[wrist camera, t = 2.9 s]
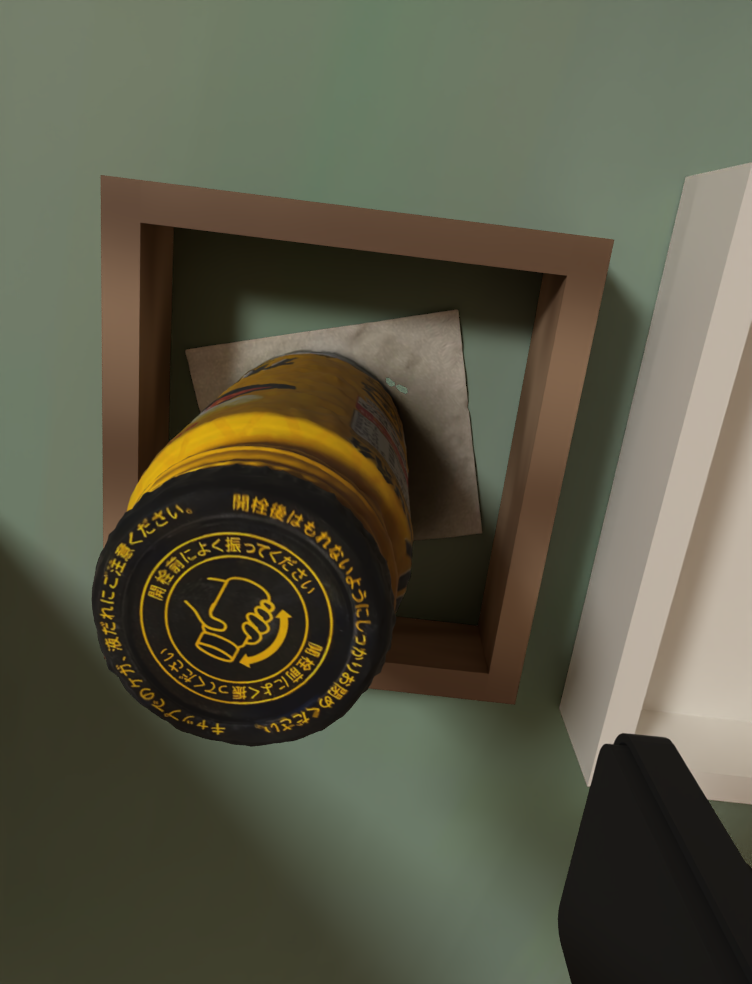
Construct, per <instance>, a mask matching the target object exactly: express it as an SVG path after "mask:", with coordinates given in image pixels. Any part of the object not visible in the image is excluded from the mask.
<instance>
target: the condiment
mask: <svg viewBox="0 0 752 984" xmlns="http://www.w3.org/2000/svg"><path fill="white" fill-rule="evenodd" d="M185 352H186V356H187V360H188V363H189V369H190V373H191V377H192V381H193V386H194V390H195V393H196V398H197V403H198V406H199V409H200V414H199V416H197V417H196V418H195V419H194V420H193V421H192V422H191V423H190V424H188V425H187V426H186V427H185V428H184V429H183V430H182V431H181V432H180V433H179V434H178V435H176V436H175V437H174V438H173V439H172V440H170V442H169V443H168V444H167V445H166V446H165V447H164V448H163V449H162V450H161V451H160V452H159V453H158V454H157V455H156V457H155V458H154V459H153V461H152V462H151V464H150V465H149V467H148V468H147V469H146V470H145V471H144V473H143V474H142V476H141V478H140V480H139V482H138V484H137V485H136V487H135V489H134V491H133V492H132V495H131V497H130V500H129V504H128V508H127V512H125V513H124V515H123V516H122V518H121V519H120V520H119V522H118V523H117V525H116V528H115V529H114V530H113V531H112V532H111V533H110V534H109V535H108V540H107V543H106V545H105V547H104V549H103V550H102V552H101V554H100V557H99V559H98V562H97V565H96V571H95V576H94V582H93V587H92V610H93V616H94V622H95V625H96V628H97V634H98V640H99V644H100V648H101V651H102V653H103V654H104V656H105V658H106V662H107V666H108V669H109V670H110V671H111V672H113V673H115V674H116V675H117V676H118V677H119V679H120V681H121V683H122V684H123V686H124V687H125V689H126V690H127V691H128V692H129V693H130V694H131V695H132V697H133V698H134V699H135V700H136V701H138V702H139V703H140V704H141V705H143V706H144V707H146V708H147V709H149V710H150V711H151V712H153V713H154V714H156V715H157V716H159V717H160V718H161V719H164V720H166V721H168V722H169V723H170V724H172V725H173V726H174V727H175V728H176V729H178V730H180V731H183V732H186V733H190V734H193V735H196V736H199V737H202V738H205V739H209V740H216V741H222V742H226V743H230V744H234V745H246V746H260V745H267V744H272V743H282V742H289V741H295V740H298V739H301V738H304V737H306V736H308V735H310V734H313V733H315V732H318V731H322V730H323V729H325V728H326V727H328V726H329V725H331V724H332V723H333V722H335V721H336V720H338V719H339V718H341V717H343V716H344V715H345V714H346V713H347V712H348V711H349V710H350V708H351V707H352V706H353V705H354V704H355V702H356V701H357V700H358V698H359V697H360V696H361V694H362V693H364V692H365V691H366V690H368V688H369V686H370V685H371V683H372V681H373V678H374V676H376V675H378V674H379V673H381V671H382V667H383V665H384V664H385V661H386V654H387V652H388V651H389V650H390V649H391V641H392V631H393V628H394V626H395V623H396V616H395V613H396V612H397V610H398V607H399V604H400V602H401V601H402V599H403V596H404V594H405V593H406V588H407V584H408V581H409V579H410V577H411V565H412V545H413V541H415V540H425V539H433V538H447V537H458V536H463V535H471V534H479V533H482V525H481V516H480V510H479V500H478V490H477V481H476V472H475V464H474V454H473V446H472V436H471V427H470V417H469V410H468V407H467V406H468V399H467V389H466V379H465V370H464V361H463V352H462V341H461V332H460V323H459V313H458V310H450V311H444V312H437V313H431V314H424V315H417V316H410V317H403V318H397V319H391V320H384V321H378V322H370V323H363V324H357V325H349V326H342V327H335V328H328V329H321V330H314V331H307V332H300V333H293V334H287V335H280V336H273V337H266V338H260V339H253V340H246V341H239V342H233V343H226V344H219V345H212V346H206V347H199V348H193V349H188V350H185ZM386 378H390V379H391V380H392V381H394V382H395V386H392V387H391V386H389V385H388V384H387V383H386ZM398 384H400V385H402V386H404V387H406V388H407V390H408V393H407V394H404V393H402V392H400V391H399V390H398V389H397V388H396V385H398Z"/></svg>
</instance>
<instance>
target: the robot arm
mask: <svg viewBox="0 0 752 984" xmlns="http://www.w3.org/2000/svg"><path fill="white" fill-rule="evenodd" d="M558 929H559V937H560V942H561V946H562V949H563V953H564V957H565V961H566V964H567V968H568V972H569V976H570V979H571V983H572V984H752V868H751V867H750V866H749V865H748V864H746V862H745V861H744V859H743V858H742V856H741V854H740V853H739V851H738V849H737V848H736V846H735V844H734V843H733V841H732V839H731V838H730V836H729V834H728V833H727V831H726V829H725V828H724V826H723V824H722V823H721V821H720V820H719V818H718V816H717V815H716V813H715V811H714V810H713V808H712V806H711V805H710V803H709V801H708V800H707V798H706V796H705V795H704V793H703V791H702V790H701V788H700V786H699V785H698V783H697V782H696V780H695V778H694V777H693V775H692V773H691V772H690V770H689V768H688V767H687V765H686V763H685V762H684V760H683V758H682V757H681V755H680V753H679V752H678V750H677V748H676V747H675V745H674V744H673V743H672V741H671V740H670V739H668V738H666V737H658V736H648V735H638V734H628V733H622V734H619V735H618V736H617V738H616V739H615V741H614V744H604V745H603V746H602V747H601V749H600V752H599V755H598V759H597V762H596V766H595V770H594V774H593V778H592V782H591V786H590V789H589V793H588V797H587V801H586V805H585V809H584V813H583V816H582V820H581V824H580V828H579V832H578V836H577V840H576V843H575V847H574V851H573V855H572V859H571V863H570V867H569V871H568V874H567V878H566V882H565V886H564V890H563V894H562V898H561V901H560V906H559V912H558Z"/></svg>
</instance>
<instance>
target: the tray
mask: <svg viewBox="0 0 752 984" xmlns="http://www.w3.org/2000/svg"><path fill="white" fill-rule="evenodd" d="M559 709H560V712H561V715H562V718H563V720H564V723H565V726H566V729H567V732H568V734H569V737H570V740H571V743H572V745H573V748H574V751H575V754H576V756H577V759H578V762H579V765H580V767H581V770H582V773H583V776H584V778H585V781H586V784H587V786H589V787H590V786H591V782H592V778H593V774H594V770H595V766H596V762H597V759H598V755H599V752H600V749H601V747H602V746H603V745H604V744H614V741H615V739H616V738H617V736H618V735H619V734H622V733H628V734H638V735H648V736H658V737H666V738H668V739H670V740H671V741H672V743H673V744H674V745H675V747H676V748H677V750H678V752H679V753H680V755H681V757H682V758H683V760H684V762H685V763H686V765H687V767H688V768H689V770H690V772H691V773H692V775H693V777H694V778H695V780H696V782H697V783H698V785H699V786H700V788H701V790H702V791H703V793H704V795H705V796H706V798H707V799H708V800H717V801H726V802H735V803H744V804H752V162H751V163H747V164H742V165H738V166H733V167H729V168H724V169H720V170H715V171H710V172H706V173H701V174H697V175H692V176H688V177H686V178H685V182H684V186H683V191H682V195H681V199H680V203H679V207H678V212H677V216H676V220H675V224H674V228H673V233H672V237H671V241H670V245H669V249H668V254H667V258H666V262H665V266H664V270H663V275H662V279H661V283H660V287H659V291H658V296H657V300H656V304H655V308H654V312H653V317H652V321H651V325H650V329H649V333H648V338H647V342H646V346H645V350H644V354H643V359H642V363H641V367H640V371H639V375H638V380H637V384H636V388H635V392H634V396H633V400H632V405H631V409H630V413H629V417H628V421H627V426H626V430H625V434H624V438H623V442H622V447H621V451H620V455H619V459H618V463H617V468H616V472H615V476H614V480H613V484H612V489H611V493H610V497H609V501H608V505H607V510H606V514H605V518H604V522H603V526H602V531H601V535H600V539H599V543H598V547H597V552H596V556H595V560H594V564H593V568H592V573H591V577H590V581H589V585H588V589H587V594H586V598H585V602H584V606H583V610H582V615H581V619H580V623H579V627H578V631H577V636H576V640H575V644H574V648H573V652H572V656H571V661H570V665H569V669H568V673H567V677H566V682H565V686H564V690H563V694H562V698H561V703H560V707H559Z"/></svg>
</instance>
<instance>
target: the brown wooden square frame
mask: <svg viewBox="0 0 752 984" xmlns="http://www.w3.org/2000/svg"><path fill="white" fill-rule="evenodd" d="M174 227H180V228H188V229H196V230H204V231H212V232H220V233H228V234H236V235H244V236H252V237H260V238H268V239H276V240H284V241H292V242H300V243H308V244H316V245H324V246H332V247H340V248H348V249H357V250H365V251H373V252H381V253H389V254H397V255H405V256H413V257H421V258H429V259H437V260H445V261H453V262H461V263H469V264H477V265H485V266H493V267H501V268H509V269H517V270H525V271H533V272H541V273H543V278H542V284H541V289H540V294H539V300H538V305H537V310H536V316H535V321H534V327H533V332H532V337H531V343H530V348H529V353H528V359H527V364H526V370H525V375H524V380H523V386H522V391H521V396H520V402H519V407H518V413H517V418H516V423H515V429H514V434H513V439H512V445H511V450H510V456H509V461H508V466H507V472H506V477H505V482H504V488H503V493H502V499H501V504H500V509H499V515H498V520H497V525H496V531H495V536H494V542H493V547H492V552H491V558H490V563H489V568H488V574H487V579H486V585H485V590H484V595H483V601H482V606H481V611H480V617H479V622H478V626H476V625H467V624H458V623H449V622H440V621H432V620H423V619H414V618H405V617H396V623H395V626H394V628H393V631H392V641H391V649H390V650H389V651H388V652H387V654H386V661H385V664H384V665H383V667H382V671H381V673H379V674H378V675H376V676H374V678H373V681H372V683H371V685H370V686H369V688H371V689H380V690H389V691H398V692H407V693H416V694H425V695H434V696H443V697H452V698H461V699H470V700H478V701H487V702H496V703H505V704H514V705H515V701H516V697H517V692H518V687H519V683H520V678H521V673H522V669H523V664H524V659H525V655H526V650H527V645H528V641H529V636H530V631H531V627H532V622H533V617H534V613H535V608H536V603H537V598H538V594H539V589H540V584H541V580H542V575H543V570H544V566H545V561H546V556H547V552H548V547H549V542H550V538H551V533H552V528H553V524H554V519H555V514H556V510H557V505H558V500H559V496H560V491H561V486H562V482H563V477H564V472H565V468H566V463H567V458H568V454H569V449H570V444H571V440H572V435H573V430H574V426H575V421H576V416H577V412H578V407H579V402H580V397H581V393H582V388H583V383H584V379H585V374H586V369H587V365H588V360H589V355H590V351H591V346H592V341H593V337H594V332H595V327H596V323H597V318H598V313H599V309H600V304H601V299H602V295H603V290H604V285H605V281H606V276H607V271H608V267H609V262H610V257H611V253H612V248H613V243H614V240H613V239H605V238H597V237H589V236H581V235H573V234H565V233H557V232H549V231H541V230H533V229H525V228H517V227H509V226H501V225H493V224H485V223H477V222H469V221H461V220H454V219H446V218H438V217H430V216H422V215H414V214H406V213H398V212H390V211H382V210H374V209H366V208H358V207H350V206H342V205H334V204H326V203H318V202H310V201H302V200H294V199H287V198H279V197H271V196H263V195H255V194H247V193H239V192H231V191H223V190H215V189H207V188H199V187H191V186H183V185H175V184H167V183H159V182H151V181H143V180H135V179H127V178H119V177H112V176H104V175H101V288H102V427H103V549H104V547H105V545H106V543H107V540H108V535H109V534H110V533H111V532H112V531H113V530H114V529H115V528H116V525H117V523H118V522H119V520H120V519H121V518H122V516H123V515H124V513H125V512H127V508H128V504H129V500H130V497H131V495H132V492H133V491H134V489H135V487H136V485H137V484H138V482H139V480H140V478H141V476H142V474H143V473H144V471H145V470H146V469H147V468H148V467H149V465H150V464H151V462H152V461H153V459H154V458H155V457H156V455H157V454H158V453H159V452H160V451H161V450H162V449H163V448H164V447H165V446H166V445H167V444H168V443H169V402H170V360H171V319H172V277H173V235H174ZM104 659H106V658H105V656H104Z"/></svg>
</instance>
